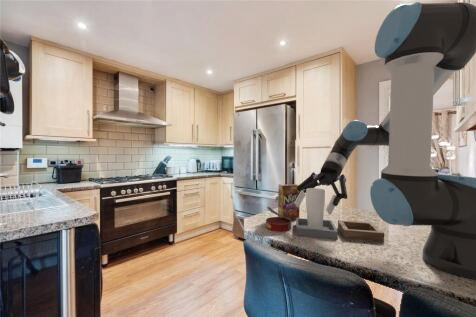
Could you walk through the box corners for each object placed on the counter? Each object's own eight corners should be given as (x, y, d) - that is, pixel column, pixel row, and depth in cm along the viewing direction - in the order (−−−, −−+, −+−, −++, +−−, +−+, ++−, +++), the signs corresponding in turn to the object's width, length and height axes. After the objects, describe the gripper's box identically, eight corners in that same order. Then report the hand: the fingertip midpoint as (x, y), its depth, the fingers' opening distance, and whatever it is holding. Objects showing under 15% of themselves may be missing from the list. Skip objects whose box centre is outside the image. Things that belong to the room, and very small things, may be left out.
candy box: (281, 220, 99) (281, 185, 99) (277, 217, 103) (277, 184, 103) (300, 219, 101) (300, 184, 101) (295, 216, 105) (295, 183, 105)
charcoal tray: (337, 239, 77) (337, 231, 77) (296, 235, 80) (296, 228, 80) (331, 226, 90) (331, 220, 90) (296, 224, 93) (296, 218, 93)
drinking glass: (327, 232, 82) (327, 190, 81) (308, 232, 82) (308, 190, 82) (321, 226, 88) (321, 188, 88) (303, 226, 89) (303, 188, 88)
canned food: (268, 235, 93) (268, 211, 98) (293, 236, 90) (292, 211, 95) (261, 230, 84) (262, 204, 89) (289, 230, 81) (288, 203, 85)
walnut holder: (384, 242, 74) (384, 233, 74) (344, 238, 77) (344, 230, 77) (372, 230, 86) (372, 222, 86) (337, 227, 89) (337, 220, 89)
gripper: (368, 174, 84) (348, 222, 75) (310, 171, 104) (289, 208, 95) (362, 160, 81) (340, 208, 72) (303, 159, 101) (280, 197, 92)
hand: (311, 208), depth 83 cm, fingers open, 13 cm apart
